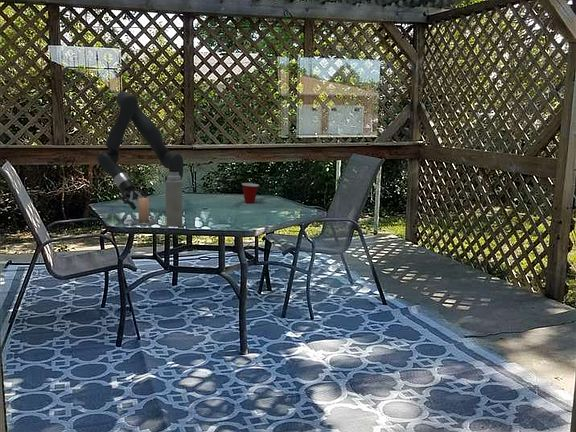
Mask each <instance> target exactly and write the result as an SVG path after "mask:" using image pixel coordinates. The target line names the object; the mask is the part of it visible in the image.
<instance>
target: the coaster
mask: <svg viewBox="0 0 576 432" xmlns="http://www.w3.org/2000/svg"><path fill="white" fill-rule="evenodd" d="M131 224H132V225H135V226H152V225H154V224H157V221H156V220H154V219H149V222H146V223H140V222H139V219H136V220H132V221H131Z"/></svg>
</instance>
